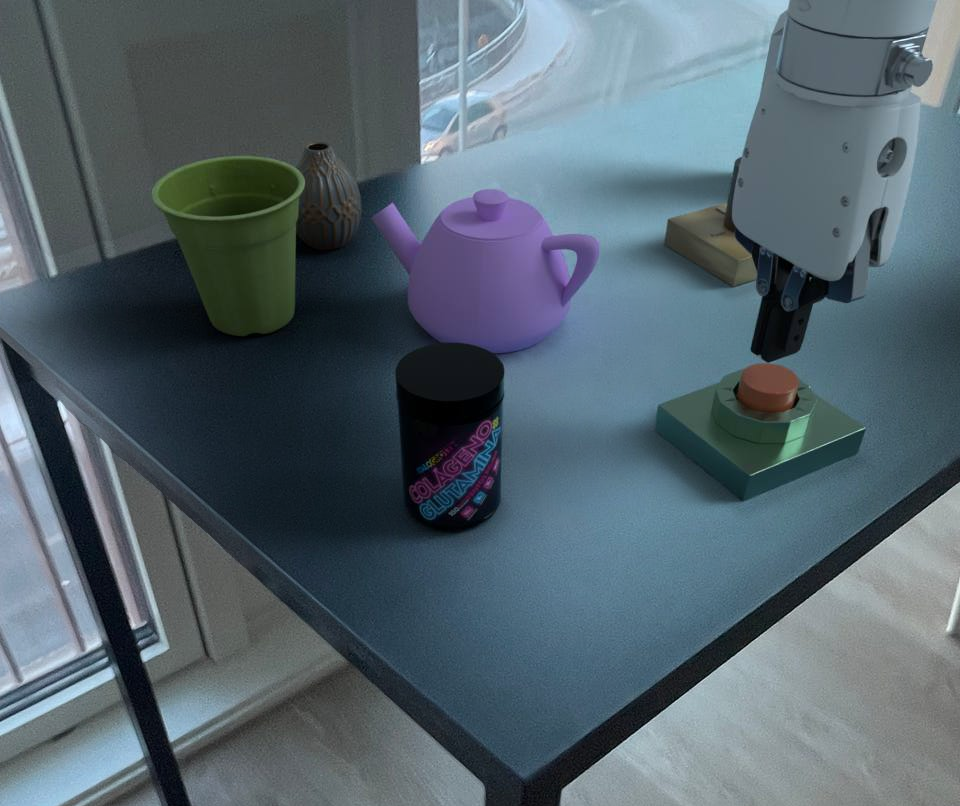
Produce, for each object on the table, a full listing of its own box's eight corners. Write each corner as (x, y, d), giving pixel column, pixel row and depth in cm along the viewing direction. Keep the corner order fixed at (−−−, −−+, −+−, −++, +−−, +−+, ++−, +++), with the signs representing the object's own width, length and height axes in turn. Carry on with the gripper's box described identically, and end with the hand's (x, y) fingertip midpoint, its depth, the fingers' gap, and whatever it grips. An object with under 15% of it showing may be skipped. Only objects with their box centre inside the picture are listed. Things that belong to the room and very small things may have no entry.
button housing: (764, 388, 79) (775, 342, 77) (858, 452, 74) (873, 405, 71) (654, 429, 75) (661, 382, 73) (743, 501, 70) (755, 453, 67)
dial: (749, 211, 96) (761, 147, 92) (781, 228, 94) (795, 164, 89) (713, 221, 95) (725, 157, 90) (745, 239, 92) (758, 174, 88)
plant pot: (209, 280, 91) (184, 150, 83) (336, 291, 90) (322, 160, 82) (159, 346, 83) (125, 210, 75) (297, 360, 82) (278, 223, 74)
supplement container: (386, 521, 68) (375, 386, 60) (428, 466, 72) (423, 333, 65) (478, 547, 66) (479, 411, 59) (515, 488, 70) (521, 355, 63)
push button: (766, 378, 74) (771, 357, 73) (805, 404, 72) (811, 383, 70) (724, 394, 72) (729, 372, 71) (763, 421, 70) (768, 399, 69)
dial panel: (750, 219, 101) (755, 192, 99) (822, 258, 95) (829, 231, 93) (663, 244, 97) (667, 216, 95) (733, 287, 91) (738, 258, 89)
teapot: (411, 261, 94) (406, 142, 86) (615, 304, 89) (629, 181, 81) (339, 330, 85) (326, 204, 78) (561, 382, 80) (571, 252, 72)
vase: (302, 262, 94) (290, 165, 87) (284, 232, 98) (271, 137, 92) (373, 250, 96) (366, 154, 89) (352, 221, 100) (343, 127, 94)
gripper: (1003, 84, 53) (895, 389, 66) (802, 12, 62) (742, 294, 75) (903, 109, 50) (812, 422, 63) (708, 30, 59) (663, 319, 72)
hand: (774, 352), depth 69 cm, fingers closed
